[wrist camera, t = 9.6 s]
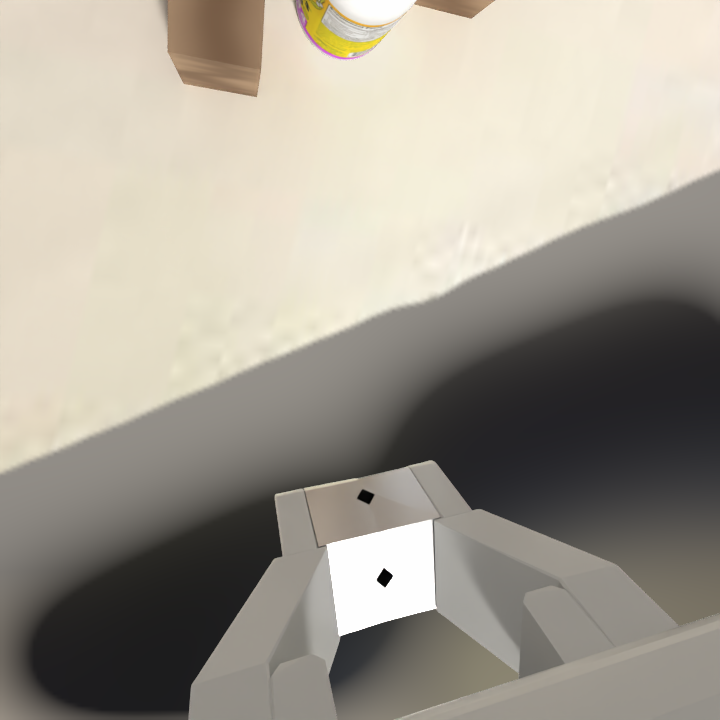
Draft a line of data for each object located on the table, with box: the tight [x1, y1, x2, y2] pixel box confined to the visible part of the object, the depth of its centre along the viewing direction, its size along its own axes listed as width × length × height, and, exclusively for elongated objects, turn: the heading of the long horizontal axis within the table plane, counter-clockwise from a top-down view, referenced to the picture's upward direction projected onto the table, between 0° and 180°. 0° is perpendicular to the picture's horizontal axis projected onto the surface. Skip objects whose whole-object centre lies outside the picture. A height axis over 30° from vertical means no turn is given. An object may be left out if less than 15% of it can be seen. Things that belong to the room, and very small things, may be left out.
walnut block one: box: [168, 0, 265, 97], centre depth 30 cm, size 5×5×8 cm
